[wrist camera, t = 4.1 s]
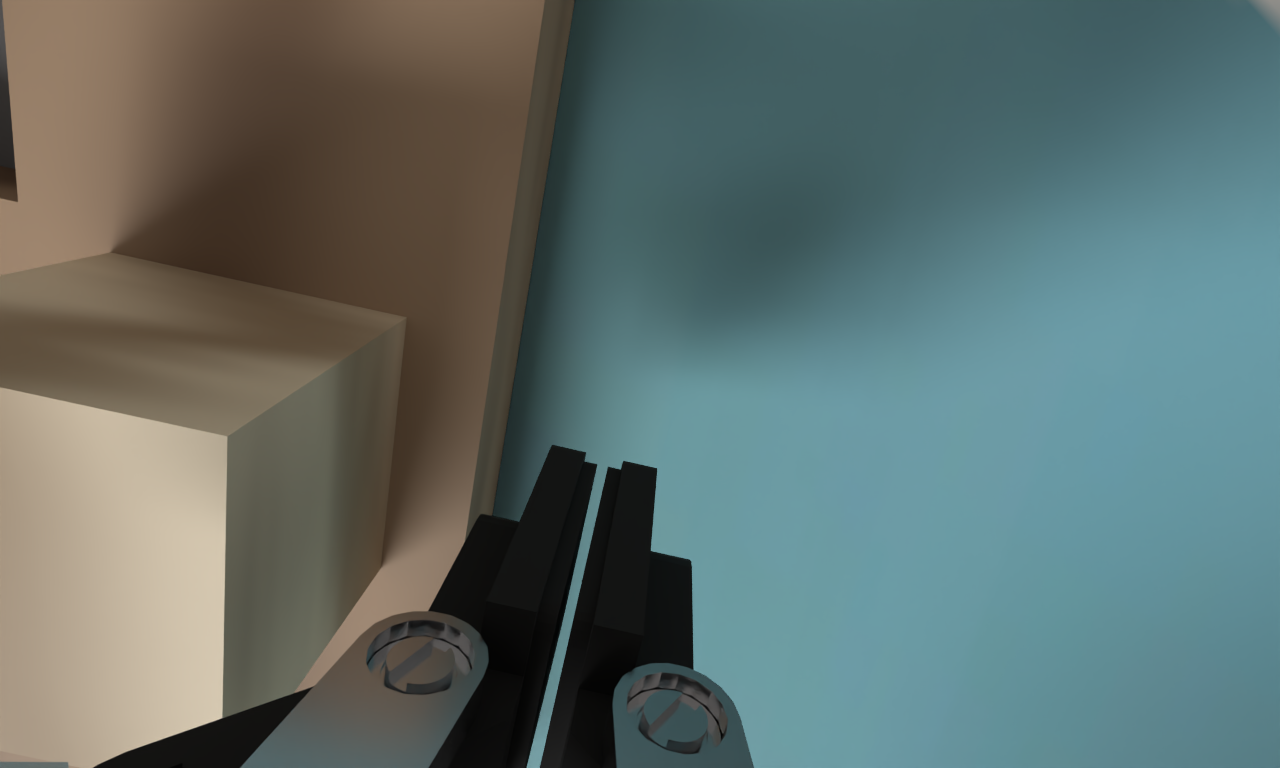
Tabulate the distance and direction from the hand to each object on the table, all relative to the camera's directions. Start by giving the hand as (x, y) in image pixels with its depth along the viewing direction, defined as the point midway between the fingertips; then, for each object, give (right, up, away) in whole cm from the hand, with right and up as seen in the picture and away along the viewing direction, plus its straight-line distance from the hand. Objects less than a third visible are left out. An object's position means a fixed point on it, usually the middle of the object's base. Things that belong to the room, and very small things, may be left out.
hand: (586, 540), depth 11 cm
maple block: (-6, +2, +2) cm, 6 cm away
